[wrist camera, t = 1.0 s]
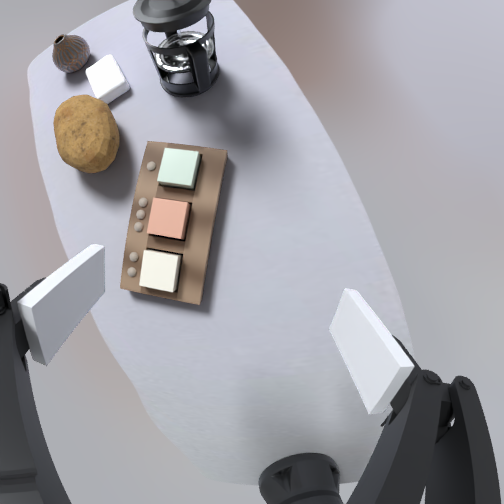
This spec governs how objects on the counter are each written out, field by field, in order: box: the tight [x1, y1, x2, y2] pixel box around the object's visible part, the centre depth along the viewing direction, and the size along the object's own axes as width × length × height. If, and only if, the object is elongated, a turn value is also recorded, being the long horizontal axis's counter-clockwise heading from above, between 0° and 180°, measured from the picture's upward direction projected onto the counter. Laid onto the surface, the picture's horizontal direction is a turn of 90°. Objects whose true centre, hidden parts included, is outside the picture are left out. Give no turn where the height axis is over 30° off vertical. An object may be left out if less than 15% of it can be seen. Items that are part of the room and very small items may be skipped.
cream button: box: [139, 250, 183, 292], centre depth 34 cm, size 4×4×3 cm
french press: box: [133, 0, 219, 97], centre depth 24 cm, size 12×9×23 cm
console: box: [120, 141, 227, 305], centre depth 35 cm, size 20×11×3 cm, turn 170°
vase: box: [52, 34, 90, 73], centre depth 30 cm, size 7×7×9 cm
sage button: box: [157, 148, 201, 190], centre depth 34 cm, size 4×4×3 cm
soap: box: [86, 54, 130, 104], centre depth 34 cm, size 9×6×3 cm, turn 31°
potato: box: [54, 95, 119, 173], centre depth 31 cm, size 10×14×8 cm
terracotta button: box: [147, 197, 191, 239], centre depth 34 cm, size 4×4×3 cm
